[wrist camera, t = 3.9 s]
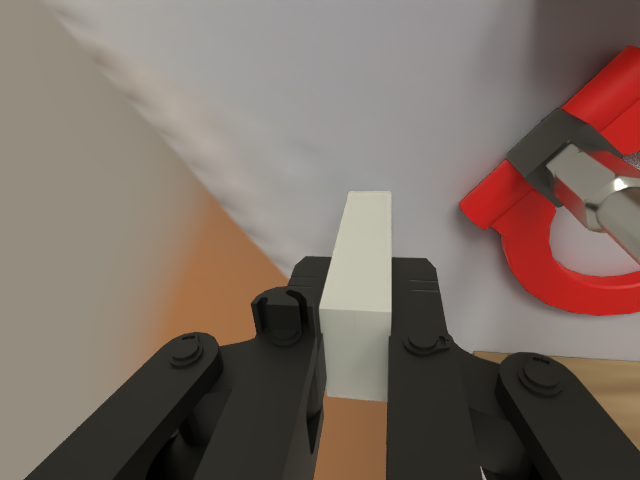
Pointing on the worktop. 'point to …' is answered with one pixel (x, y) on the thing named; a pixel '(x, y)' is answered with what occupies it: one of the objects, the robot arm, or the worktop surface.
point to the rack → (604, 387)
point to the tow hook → (572, 191)
